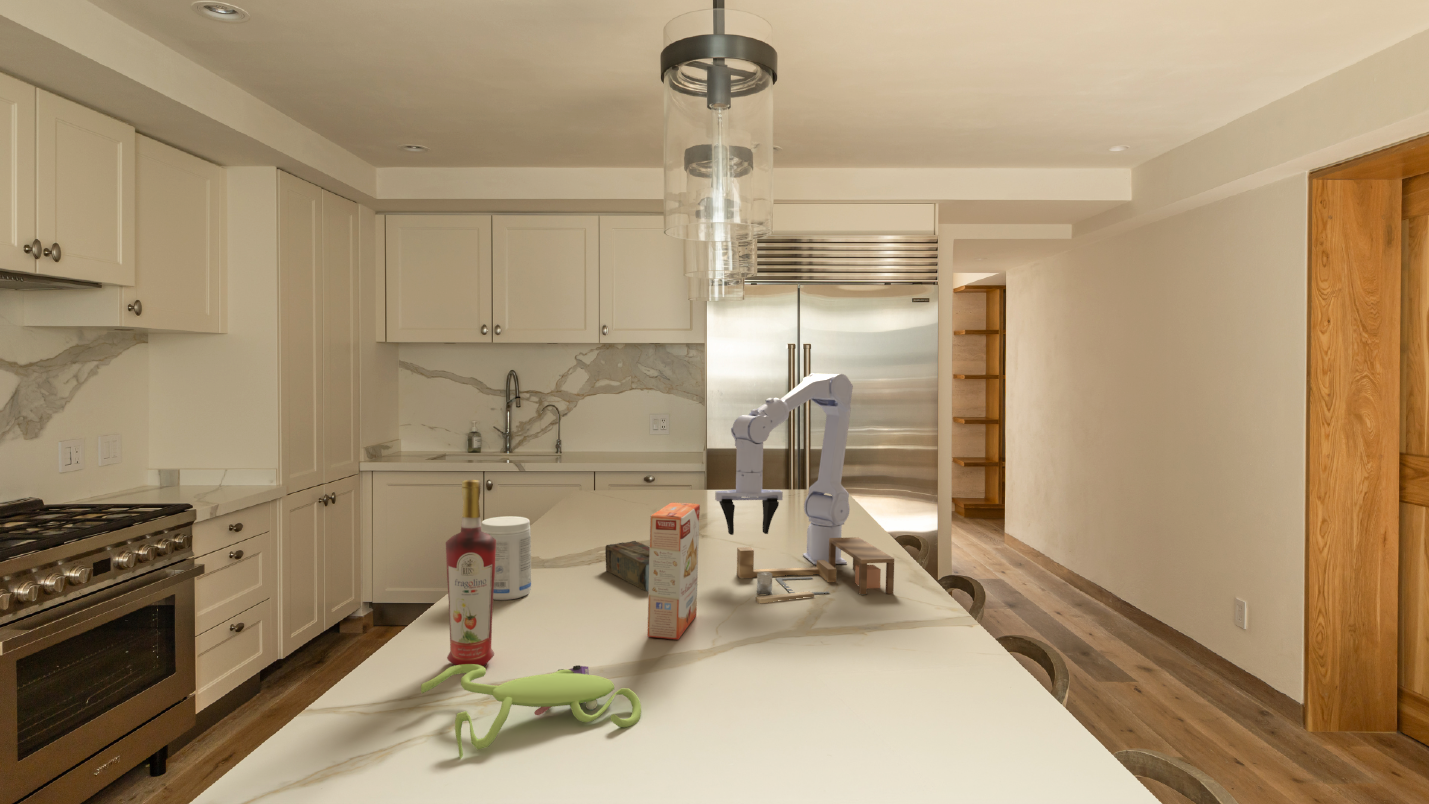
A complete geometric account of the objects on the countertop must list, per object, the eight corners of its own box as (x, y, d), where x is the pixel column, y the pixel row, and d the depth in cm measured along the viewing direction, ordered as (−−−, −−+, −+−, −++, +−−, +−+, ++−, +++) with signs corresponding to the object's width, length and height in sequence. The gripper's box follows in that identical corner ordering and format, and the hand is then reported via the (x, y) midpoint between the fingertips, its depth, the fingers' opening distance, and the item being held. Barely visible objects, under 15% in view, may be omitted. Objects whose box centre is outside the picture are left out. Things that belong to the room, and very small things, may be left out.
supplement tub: (518, 584, 168) (518, 514, 167) (539, 595, 160) (540, 521, 160) (472, 592, 161) (472, 519, 161) (493, 604, 154) (493, 527, 153)
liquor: (444, 675, 120) (444, 485, 118) (446, 657, 127) (446, 478, 125) (496, 671, 122) (496, 484, 120) (495, 653, 129) (496, 477, 127)
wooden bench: (828, 569, 184) (829, 538, 184) (857, 568, 185) (858, 537, 185) (860, 594, 164) (861, 559, 164) (893, 593, 166) (894, 558, 165)
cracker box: (681, 641, 136) (682, 516, 135) (646, 638, 137) (647, 514, 136) (699, 615, 149) (701, 502, 148) (667, 613, 151) (669, 500, 149)
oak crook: (823, 571, 182) (823, 545, 182) (836, 582, 174) (836, 554, 173) (736, 574, 178) (737, 547, 178) (745, 585, 170) (746, 557, 170)
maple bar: (755, 603, 159) (755, 597, 159) (809, 597, 164) (809, 591, 164) (759, 605, 158) (759, 599, 158) (813, 599, 162) (814, 593, 162)
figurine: (418, 705, 110) (418, 664, 110) (608, 676, 121) (609, 639, 121) (432, 767, 94) (432, 720, 93) (651, 727, 105) (652, 685, 104)
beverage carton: (644, 593, 164) (645, 561, 164) (603, 572, 180) (603, 542, 180) (678, 587, 168) (679, 556, 168) (635, 567, 184) (635, 538, 184)
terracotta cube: (855, 583, 173) (855, 565, 173) (872, 583, 174) (873, 564, 174) (861, 589, 169) (862, 569, 169) (880, 588, 170) (880, 569, 170)
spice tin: (755, 591, 166) (755, 571, 166) (769, 590, 166) (770, 571, 166) (758, 595, 163) (759, 575, 163) (773, 595, 164) (773, 575, 163)
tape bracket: (775, 579, 175) (775, 578, 175) (811, 577, 177) (811, 576, 177) (791, 595, 163) (791, 594, 163) (829, 593, 165) (829, 592, 165)
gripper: (720, 473, 170) (719, 538, 171) (787, 473, 173) (785, 536, 174) (713, 469, 177) (712, 531, 178) (778, 468, 180) (776, 529, 181)
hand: (748, 533), depth 176 cm, fingers open, 7 cm apart
